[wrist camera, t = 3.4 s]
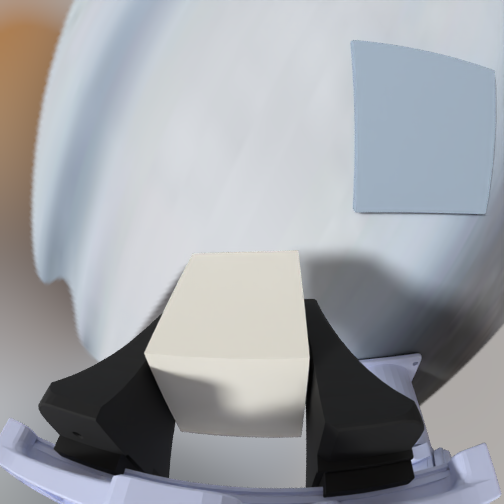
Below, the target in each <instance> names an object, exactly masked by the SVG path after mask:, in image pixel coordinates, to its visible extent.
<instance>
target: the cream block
mask: <svg viewBox="0 0 504 504" xmlns="http://www.w3.org/2000/svg"><path fill="white" fill-rule="evenodd" d="M144 354H145V357H146V359H147V361H148V364H149V366H150V368H151V371H152V373H153V375H154V377H155V380H156V382H157V384H158V386H159V388H160V391H161V393H162V395H163V397H164V399H165V401H166V403H167V405H168V407H169V409H170V411H171V413H172V415H173V417H174V419H175V421H176V423H177V425H178V427H179V429H180V431H182V432H189V433H198V434H208V435H221V436H236V437H268V438H278V437H279V438H280V437H301V435H302V427H303V418H304V410H305V401H306V392H307V382H308V371H309V360H310V356H309V345H308V335H307V325H306V315H305V305H304V296H303V287H302V279H301V271H300V262H299V254H298V250H295V251H258V252H222V253H193V254H192V256H191V258H190V260H189V262H188V264H187V266H186V267H185V269H184V271H183V273H182V275H181V277H180V279H179V281H178V283H177V285H176V287H175V289H174V291H173V293H172V295H171V297H170V300H169V302H168V304H167V306H166V308H165V310H164V312H163V314H162V316H161V318H160V320H159V322H158V324H157V326H156V329H155V331H154V333H153V335H152V337H151V339H150V341H149V344H148V346H147V348H146V350H145V352H144Z"/></svg>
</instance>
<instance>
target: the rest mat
mask: <svg viewBox="0 0 504 504" xmlns="http://www.w3.org/2000/svg"><path fill="white" fill-rule="evenodd" d="M351 52H352V66H353V82H354V107H355V175H354V201H353V209H354V211H355V212H417V213H463V214H486V208H487V203H488V197H489V190H490V183H491V176H492V167H493V157H494V145H495V125H496V88H495V70H492V69H489V68H486V67H483V66H480V65H477V64H474V63H471V62H467V61H464V60H460V59H457V58H453V57H449V56H446V55H442V54H437V53H433V52H429V51H424V50H419V49H414V48H409V47H403V46H397V45H391V44H384V43H377V42H368V41H359V40H353V41H351Z"/></svg>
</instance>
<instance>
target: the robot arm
mask: <svg viewBox="0 0 504 504" xmlns="http://www.w3.org/2000/svg"><path fill="white" fill-rule="evenodd" d="M304 305H305V315H306V325H307V335H308V345H309V356H310V360H309V371H308V382H307V392H306V401H305V404H306V449H307V450H306V451H307V453H306V455H307V456H306V488H248V487H247V488H246V487H231V486H220V485H211V484H203V483H195V482H189V481H182V480H176V479H171V478H169V469H170V457H171V449H172V448H171V447H172V440H173V434H174V427H175V419H174V417H173V415H172V413H171V411H170V409H169V407H168V405H167V403H166V401H165V399H164V397H163V395H162V393H161V391H160V388H159V386H158V384H157V382H156V380H155V377H154V375H153V373H152V371H151V368H150V366H149V364H148V361H147V359H146V357H145V354H144V352H145V350H146V348H147V346H148V344H149V341H150V339H151V337H152V335H153V333H154V331H155V329H156V326H157V324H158V322H159V320H160V318H161V316H162V314H163V313H162V314H161V315H160V316H159V317H158V318H157V319H156V320H154V321H153V322H152V323H151V324H150V325H149V326H148V327H147V328H146V329H145V330H144V331H142V332H141V333H140V334H139V335H138V336H136V337H135V338H134V339H133V340H132V341H131V342H129V343H128V344H127V345H125V346H124V347H123V348H121V349H120V350H118V351H117V352H115V353H114V354H112V355H111V356H109V357H107V358H106V359H104V360H102V361H101V362H99V363H97V364H96V365H94V366H92V367H90V368H88V369H86V370H83V371H81V372H79V373H77V374H75V375H72V376H69V377H67V378H64V379H61V380H58V381H55V382H52V383H51V385H50V386H49V388H48V389H47V391H46V393H45V394H44V396H43V398H42V400H41V401H40V403H39V410H40V413H41V414H42V416H43V417H44V418H45V419H46V421H47V422H48V423H49V424H50V425H51V426H52V427H53V428H54V429H55V430H56V431H57V432H58V434H59V435H60V436H59V438H58V440H57V442H56V444H53V443H51V442H49V441H47V440H44V439H42V438H40V437H38V436H37V435H36V434H35V433H34V431H32V430H31V429H30V428H29V427H28V426H26V425H25V424H23V423H21V422H19V421H17V420H15V419H13V418H9V420H8V422H7V423H6V425H5V427H4V429H3V430H2V432H1V434H0V466H1V467H2V468H3V469H5V470H6V471H7V472H9V473H10V474H11V475H12V476H14V477H15V478H16V479H18V480H19V481H21V482H22V483H24V484H25V485H27V486H29V487H30V488H32V489H34V490H36V491H37V492H39V493H41V494H43V495H44V496H46V497H48V498H50V499H52V500H53V501H55V502H57V503H59V504H489V503H491V502H492V501H494V500H495V499H497V498H498V497H500V496H501V491H500V487H499V483H498V480H497V476H496V473H495V470H494V466H493V463H492V460H491V457H490V454H489V451H488V448H487V445H486V443H482V444H479V445H477V446H474V447H472V448H469V449H466V450H463V451H461V452H459V453H457V454H456V455H454V456H453V457H451V454H450V452H449V451H447V450H443V448H438V449H437V450H435V451H434V450H433V448H432V447H431V444H430V440H429V437H428V433H427V430H426V427H425V423H424V420H423V416H422V413H421V410H420V407H419V404H418V401H417V398H416V394H415V391H414V389H413V386H412V383H411V382H412V380H413V377H414V375H415V373H416V371H417V368H418V366H419V364H420V362H421V359H422V357H421V354H419V353H416V354H409V355H402V356H394V357H385V358H376V359H366V360H358V359H357V358H356V357H355V356H354V355H353V354H352V353H351V352H350V350H349V349H348V348H347V347H346V346H345V344H344V343H343V342H342V341H341V339H340V338H339V337H338V335H337V334H336V333H335V331H334V330H333V328H332V327H331V325H330V324H329V322H328V321H327V319H326V318H325V316H324V314H323V313H322V311H321V309H320V307H319V305H318V303H317V301H316V300H315V299H304Z"/></svg>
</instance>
